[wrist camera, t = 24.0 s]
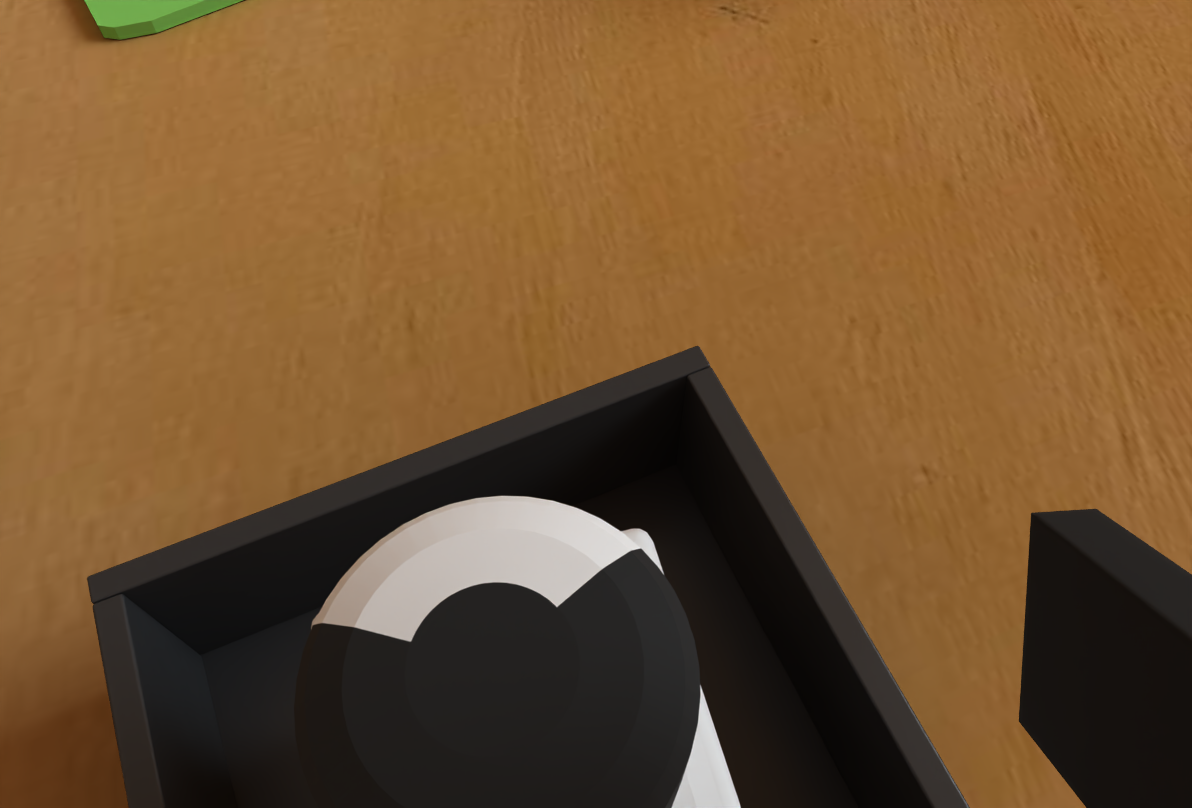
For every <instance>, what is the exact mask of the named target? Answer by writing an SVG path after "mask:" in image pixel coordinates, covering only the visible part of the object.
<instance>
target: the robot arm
mask: <svg viewBox="0 0 1192 808" xmlns="http://www.w3.org/2000/svg"><path fill="white" fill-rule="evenodd" d="M1019 722H1020V723H1021V725H1022V726H1023V727H1024V728H1025V730H1026V731H1027V732H1028V733H1029V735H1030V736H1031V737H1032V739H1033V740H1034V741H1035V742H1036V744H1037V745H1038V746H1039V748H1040V749H1041V750H1042V751H1043V753H1044V754H1045V755H1046V756H1047V758H1048V759H1049V760H1050V762H1051V763H1052V764H1053V765H1054V767H1055V768H1056V769H1057V771H1058V772H1059V773H1060V774H1061V776H1062V777H1063V778H1064V779H1065V781H1066V782H1067V783H1068V785H1069V786H1070V787H1071V788H1072V790H1073V791H1074V792H1075V794H1076V795H1077V796H1078V797H1079V799H1080V800H1081V801H1082V802H1083V804H1084V805H1085V806H1086V808H1192V575H1191V574H1190V573H1189V572H1187V571H1186V570H1184V569H1183V568H1181V567H1180V566H1178V565H1177V564H1175V563H1174V562H1173V561H1171V560H1170V559H1168V558H1167V557H1165V556H1164V555H1162V554H1161V553H1159V552H1158V551H1157V550H1155V549H1154V548H1152V547H1151V546H1149V545H1148V544H1146V543H1145V542H1144V541H1142V540H1141V539H1139V538H1138V537H1136V536H1135V535H1133V534H1132V533H1130V532H1129V531H1128V530H1126V529H1125V528H1123V527H1122V526H1120V525H1119V524H1117V523H1116V522H1114V521H1113V520H1112V519H1110V518H1109V517H1107V516H1106V515H1104V514H1103V513H1101V512H1100V511H1099V510H1097V509H1086V510H1070V511H1054V512H1038V513H1031V526H1030V543H1029V559H1028V576H1027V593H1026V610H1025V626H1024V643H1023V660H1022V676H1021V693H1020V710H1019Z"/></svg>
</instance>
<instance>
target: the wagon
mask: <svg viewBox="0 0 1192 808" xmlns="http://www.w3.org/2000/svg"><path fill="white" fill-rule="evenodd" d="M84 1H85V2H86V4H87V6H88V8H89V10H90V12H91V14H92V16H93V18H94V19H95V21H96V23H97V25H98V27H99V29H100V31H101V33H102V34H103V36H104V38H111V39H118V40H121V39H127V38H132V37H138V36H143V35H148V34H154V33H158V32H161V31H163V30H166V29H169V28H171V27H174V26H176V25H179V24H182V23H184V22H187V21H190V20H192V19H195V18H198V17H200V16H203V15H206V14H208V13H211V12H214V11H216V10H219V9H222V8H224V7H227V6H230V5H232V4H235V3H238V2H240V1H243V0H84Z"/></svg>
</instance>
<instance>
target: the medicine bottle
mask: <svg viewBox="0 0 1192 808" xmlns="http://www.w3.org/2000/svg"><path fill="white" fill-rule="evenodd" d="M294 717H295V737H296V742H297V747H298V752H299V757H300V763H301V767H302V769H303V772H304V775H305V778H306V781H307V784H308V786H309V789H310V792H311V794H312V796H313V798H314V800H315V802H316V803H317V805H318V807H319V808H741V806H740V803H739V800H738V797H737V794H736V791H735V788H734V785H733V782H732V779H731V776H730V773H729V770H728V767H727V764H726V761H725V758H724V755H723V752H722V749H721V746H720V743H719V740H718V737H717V733H716V730H715V727H714V724H713V721H712V718H711V715H710V712H709V709H708V706H707V703H706V700H705V697H704V694H703V691H702V688H701V685H700V670H699V662H698V656H697V651H696V646H695V640H694V637H693V634H692V631H691V628H690V625H689V622H688V619H687V616H686V613H685V611H684V609H683V607H682V605H681V603H680V601H679V599H678V597H677V595H676V593H675V591H674V589H673V587H672V586H671V585H670V583H669V582H668V580H667V579H666V577H665V576H664V573H663V570H662V567H661V564H660V561H659V558H658V555H657V552H656V549H655V546H654V543H653V541H652V539H651V538H650V536H649V535H648V533H647V532H645V531H643V530H641V529H629V530H625V531H619V530H618V529H616V528H615V527H613V526H611V525H610V524H608V523H607V522H605V521H603V520H602V519H600V518H598V517H596V516H594V515H591V514H589V513H587V512H585V511H583V510H580V509H578V508H575V507H572V506H569V505H565V504H562V503H559V502H555V501H552V500H545V499H539V498H533V497H524V496H495V497H484V498H475V499H471V500H466V501H462V502H457V503H453V504H449V505H447V506H444V507H441V508H438V509H435V510H433V511H430V512H427V513H425V514H423V515H421V516H419V517H417V518H415V519H413V520H411V521H409V522H407V523H405V524H403V525H402V526H400V527H399V528H397V529H396V530H394V531H393V532H391V533H390V534H388V535H387V536H385V537H384V538H382V539H381V540H379V541H378V542H377V543H376V544H375V545H374V546H373V547H371V548H370V549H369V550H368V551H367V552H366V553H364V554H363V555H362V556H361V557H360V558H359V559H358V560H357V561H356V562H355V563H354V565H353V566H352V567H351V568H350V569H349V570H348V571H347V572H346V573H345V575H344V576H343V577H342V578H341V579H340V581H339V582H338V584H337V585H336V586H335V588H334V589H333V591H332V592H331V594H330V595H329V596H328V598H327V599H326V601H325V603H324V605H323V607H322V608H321V610H320V612H319V614H317V616H316V617H315V618H314V620H313V621H312V626H311V631H310V634H309V637H308V639H307V642H306V645H305V647H304V650H303V653H302V658H301V662H300V667H299V671H298V675H297V680H296V692H295V703H294Z"/></svg>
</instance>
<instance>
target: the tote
mask: <svg viewBox="0 0 1192 808" xmlns="http://www.w3.org/2000/svg"><path fill="white" fill-rule="evenodd" d="M495 496H524V497H533V498H539V499H545V500H552V501H555V502H559V503H562V504H565V505H569V506H572V507H575V508H578V509H580V510H583V511H585V512H587V513H589V514H591V515H594V516H596V517H598V518H600V519H602V520H603V521H605V522H607V523H608V524H610V525H611V526H613V527H615V528H616V529H618V530H619V531H625V530H629V529H641V530H643V531H645V532H647V533H648V535H649V536H650V538H651V539H652V541H653V543H654V546H655V549H656V552H657V555H658V558H659V561H660V564H661V567H662V570H663V573H664V576H665V577H666V579H667V580H668V582H669V583H670V585H671V586H672V587H673V589H674V591H675V593H676V595H677V597H678V599H679V601H680V603H681V605H682V607H683V609H684V611H685V613H686V616H687V619H688V622H689V625H690V628H691V631H692V634H693V637H694V640H695V646H696V651H697V656H698V662H699V670H700V685H701V688H702V691H703V694H704V697H705V700H706V703H707V706H708V709H709V712H710V715H711V718H712V721H713V724H714V727H715V730H716V733H717V737H718V740H719V743H720V746H721V749H722V752H723V755H724V758H725V761H726V764H727V767H728V770H729V773H730V776H731V779H732V782H733V785H734V788H735V791H736V794H737V797H738V800H739V803H740V806H741V808H970V807H969V806H968V804H967V802H966V800H965V799H964V797H963V795H962V794H961V792H960V790H959V789H958V787H957V785H956V783H955V782H954V780H953V778H952V777H951V775H950V773H949V771H948V770H947V768H946V766H945V765H944V763H943V761H942V760H941V758H940V756H939V754H938V753H937V751H936V749H935V748H934V746H933V744H932V743H931V741H930V739H929V737H928V736H927V734H926V732H925V731H924V729H923V727H922V725H921V724H920V722H919V720H918V719H917V717H916V715H915V714H914V712H913V710H912V708H911V707H910V705H909V703H908V702H907V700H906V698H905V696H904V695H903V693H902V691H901V690H900V688H899V686H898V685H897V683H896V681H895V679H894V678H893V676H892V674H891V673H890V671H889V669H888V667H887V666H886V664H885V662H884V661H883V659H882V657H881V656H880V654H879V652H878V650H877V649H876V647H875V645H874V644H873V642H872V640H871V639H870V637H869V635H868V633H867V632H866V630H865V628H864V627H863V625H862V623H861V621H860V620H859V618H858V616H857V615H856V613H855V611H854V610H853V608H852V606H851V604H850V603H849V601H848V599H847V598H846V596H845V594H844V592H843V591H842V589H841V587H840V586H839V584H838V582H837V581H836V579H835V577H834V575H833V574H832V572H831V570H830V569H829V567H828V565H827V564H826V562H825V560H824V558H823V557H822V555H821V553H820V552H819V550H818V548H817V546H816V545H815V543H814V541H813V540H812V538H811V536H810V535H809V533H808V531H807V529H806V528H805V526H804V524H803V523H802V521H801V519H800V517H799V516H798V514H797V512H796V511H795V509H794V507H793V506H792V504H791V502H790V500H789V499H788V497H787V495H786V494H785V492H784V490H783V488H782V487H781V485H780V483H779V482H778V480H777V478H776V477H775V475H774V473H773V471H772V470H771V468H770V466H769V465H768V463H767V461H766V460H765V458H764V456H763V454H762V453H761V451H760V449H759V448H758V446H757V444H756V442H755V441H754V439H753V437H752V436H751V434H750V432H749V431H748V429H747V427H746V425H745V424H744V422H743V420H742V419H741V417H740V415H739V413H738V412H737V410H736V408H735V407H734V405H733V403H732V402H731V400H730V398H729V396H728V395H727V393H726V391H725V390H724V388H723V386H722V384H721V383H720V381H719V379H718V378H717V376H716V374H715V373H714V371H713V369H712V368H711V367H710V364H709V362H708V361H707V359H706V357H705V355H704V354H703V352H702V350H701V349H700V347H699V346H695V347H693V348H690V349H687V350H685V351H682V352H679V353H677V354H674V355H672V356H669V357H666V358H664V359H661V360H658V361H656V362H653V363H650V364H648V365H645V366H642V367H640V368H637V369H635V370H632V371H629V372H627V373H624V374H621V375H619V376H616V377H613V378H611V379H608V380H606V381H603V382H600V383H598V384H595V385H592V386H590V387H587V388H584V389H582V390H579V391H576V392H574V393H571V394H569V395H566V396H563V397H561V398H558V399H555V400H553V401H550V402H547V403H545V404H542V405H540V406H537V407H534V408H532V409H529V410H526V411H524V412H521V413H518V414H516V415H513V416H510V417H508V418H505V419H503V420H500V421H497V422H495V423H492V424H489V425H487V426H484V427H481V428H479V429H476V430H474V431H471V432H468V433H466V434H463V435H460V436H458V437H455V438H452V439H450V440H447V441H444V442H442V443H439V444H437V445H434V446H431V447H429V448H426V449H423V450H421V451H418V452H415V453H413V454H410V455H408V456H405V457H402V458H400V459H397V460H394V461H392V462H389V463H386V464H384V465H381V466H378V467H376V468H373V469H371V470H368V471H365V472H363V473H360V474H357V475H355V476H352V477H349V478H347V479H344V480H342V481H339V482H336V483H334V484H331V485H328V486H326V487H323V488H320V489H318V490H315V491H312V492H310V493H307V494H305V495H302V496H299V497H297V498H294V499H291V500H289V501H286V502H283V503H281V504H278V505H275V506H273V507H270V508H268V509H265V510H262V511H260V512H257V513H254V514H252V515H249V516H246V517H244V518H241V519H239V520H236V521H233V522H231V523H228V524H225V525H223V526H220V527H217V528H215V529H212V530H209V531H207V532H204V533H202V534H199V535H196V536H194V537H191V538H188V539H186V540H183V541H180V542H178V543H175V544H173V545H170V546H167V547H165V548H162V549H159V550H157V551H154V552H151V553H149V554H146V555H143V556H141V557H138V558H136V559H133V560H130V561H128V562H125V563H122V564H120V565H117V566H114V567H112V568H109V569H107V570H104V571H101V572H99V573H96V574H93V575H91V576H89V577H88V578H87V581H88V586H89V592H90V597H91V602H92V603H93V604H94V605H93V612H94V618H95V623H96V629H97V634H98V640H99V645H100V651H101V656H102V662H103V667H104V673H105V678H106V684H107V689H108V695H109V701H110V706H111V712H112V717H113V723H114V728H115V734H116V739H117V745H118V750H119V756H120V761H121V767H122V772H123V778H124V783H125V789H126V794H127V800H128V805H129V808H319V807H318V805H317V803H316V802H315V800H314V798H313V796H312V794H311V792H310V789H309V786H308V784H307V781H306V778H305V775H304V772H303V769H302V767H301V763H300V757H299V752H298V747H297V742H296V737H295V717H294V703H295V692H296V680H297V675H298V671H299V667H300V662H301V658H302V653H303V650H304V647H305V645H306V642H307V639H308V637H309V634H310V631H311V626H312V621H313V620H314V618H315V617H316V616H317V614H319V612H320V610H321V608H322V607H323V605H324V603H325V601H326V599H327V598H328V596H329V595H330V594H331V592H332V591H333V589H334V588H335V586H336V585H337V584H338V582H339V581H340V579H341V578H342V577H343V576H344V575H345V573H346V572H347V571H348V570H349V569H350V568H351V567H352V566H353V565H354V563H355V562H356V561H357V560H358V559H359V558H360V557H361V556H362V555H363V554H364V553H366V552H367V551H368V550H369V549H370V548H371V547H373V546H374V545H375V544H376V543H377V542H378V541H379V540H381V539H382V538H384V537H385V536H387V535H388V534H390V533H391V532H393V531H394V530H396V529H397V528H399V527H400V526H402V525H403V524H405V523H407V522H409V521H411V520H413V519H415V518H417V517H419V516H421V515H423V514H425V513H427V512H430V511H433V510H435V509H438V508H441V507H444V506H447V505H449V504H453V503H457V502H462V501H466V500H471V499H475V498H484V497H495Z"/></svg>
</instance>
